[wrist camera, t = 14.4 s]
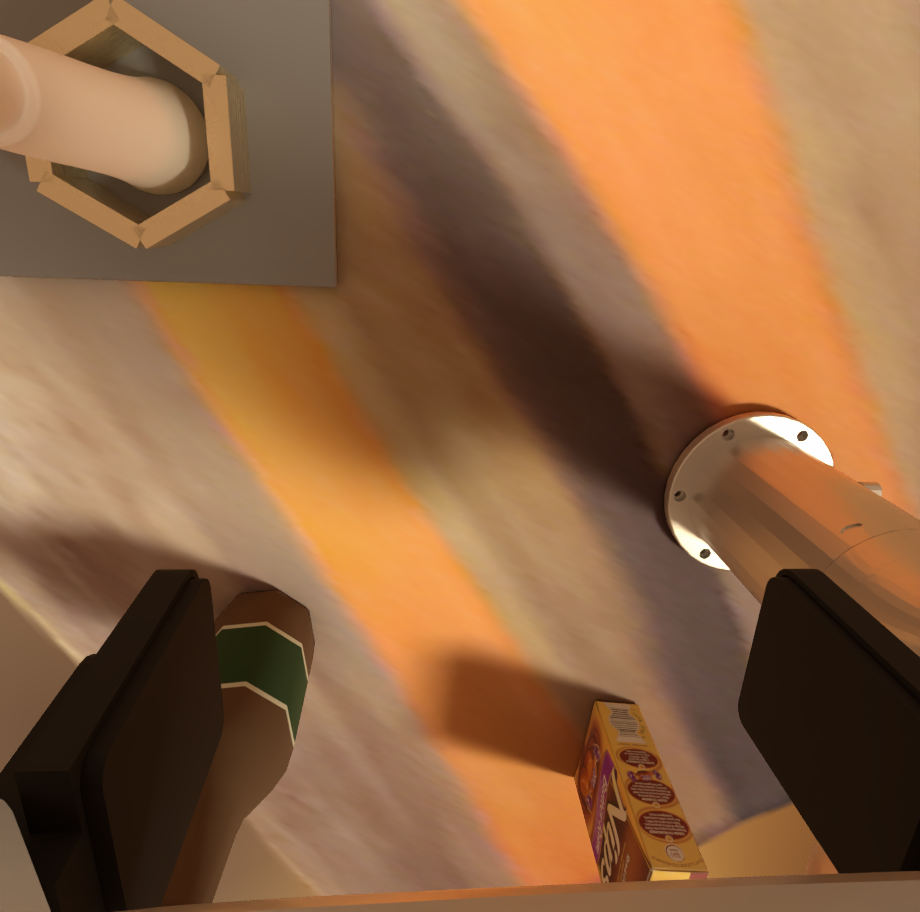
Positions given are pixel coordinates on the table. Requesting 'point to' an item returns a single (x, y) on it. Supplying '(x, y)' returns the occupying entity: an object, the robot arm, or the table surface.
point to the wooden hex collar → (125, 29)
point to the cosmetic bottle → (99, 119)
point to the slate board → (270, 157)
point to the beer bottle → (246, 731)
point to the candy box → (632, 802)
